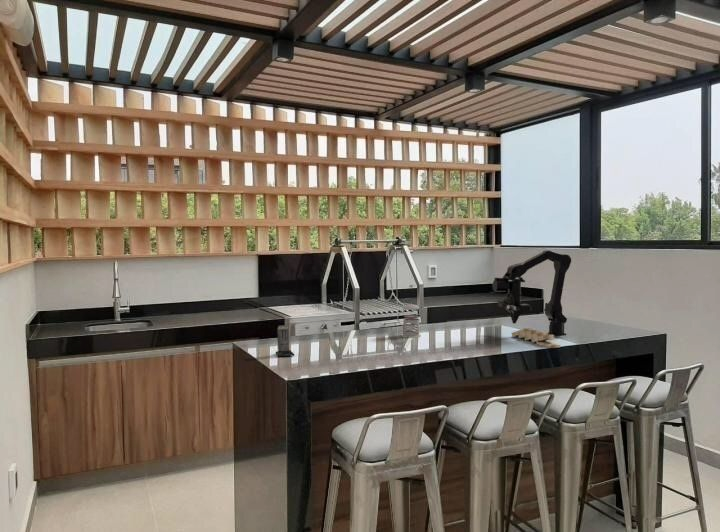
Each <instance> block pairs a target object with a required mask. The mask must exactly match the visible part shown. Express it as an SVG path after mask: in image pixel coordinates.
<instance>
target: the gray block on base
mask: <svg viewBox="0 0 720 532" xmlns="http://www.w3.org/2000/svg"><path fill="white" fill-rule="evenodd" d="M289 335H290V334H289V327H288V325H284V324H283V325H278V327H277V349H278V350H277V351H275V353H274V354H275V355H276V356H278V357H282V356H292V357H293V356H295V354H294V352H293V351H292V350H290V336H289Z"/></svg>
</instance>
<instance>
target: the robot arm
mask: <svg viewBox="0 0 720 532" xmlns="http://www.w3.org/2000/svg"><path fill="white" fill-rule="evenodd" d="M545 261H551V262H552V263H553V268H554V277H553V278H554V279H553V282H552V289H551V295H550V300H549V301H548V302H545V304H544V309H543V311H544V315H545V316H546V317H547V320H548V321H549V324H548V332H547V335H554V336H566V335H567V333H566V332H565V324H566V323H567V320H568V318H567V317H566V316H565V315H564V313H563V306H562V296H563V295H562V294H563V290H564V286H565V285H564V284H565V278H566V273H568V272H567V271H568V270H569V269H570V267H571V263H572V257H571V256H570V255H569V254H565V253H562V254H561V253H558V252H554V251H551V250H549V249H548V250H547V249H546V250H543V251H542V252H540V253H538V254H536V255H534V256H532V257H530V258H527V260H525V261H523V262H519V263H514V264H512V265H509V266H508V267H507V270H506V272H505V274H504V275H502V276H503V277H494V279H493V282H492V285H491V286H492V290H493V292H494V293H496V292H499V293H502V292H506V294H505V296H503V297H502V298H500V299H498V300H497V304H498V308H505V310H506V311H508V313H509V316H510V319H511V323H512V324H516V323H517V321H518V319H519V318H520V316H521V314H522V313H523V312H527V311H529V312H530V311H532V306H531V305H530V304H528V303H523V301H521V299H522V298H521V297H523V295H524V294H523V293H522V287H521V286H522V285H521V283H525V282H526V280H525V279H523V277H522V276H523V275H525V274H526V273H527V272H528V271H529V270H531V269H532V268H534V267H536V266H537V265H540V264H541V263H543V262H545Z"/></svg>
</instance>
